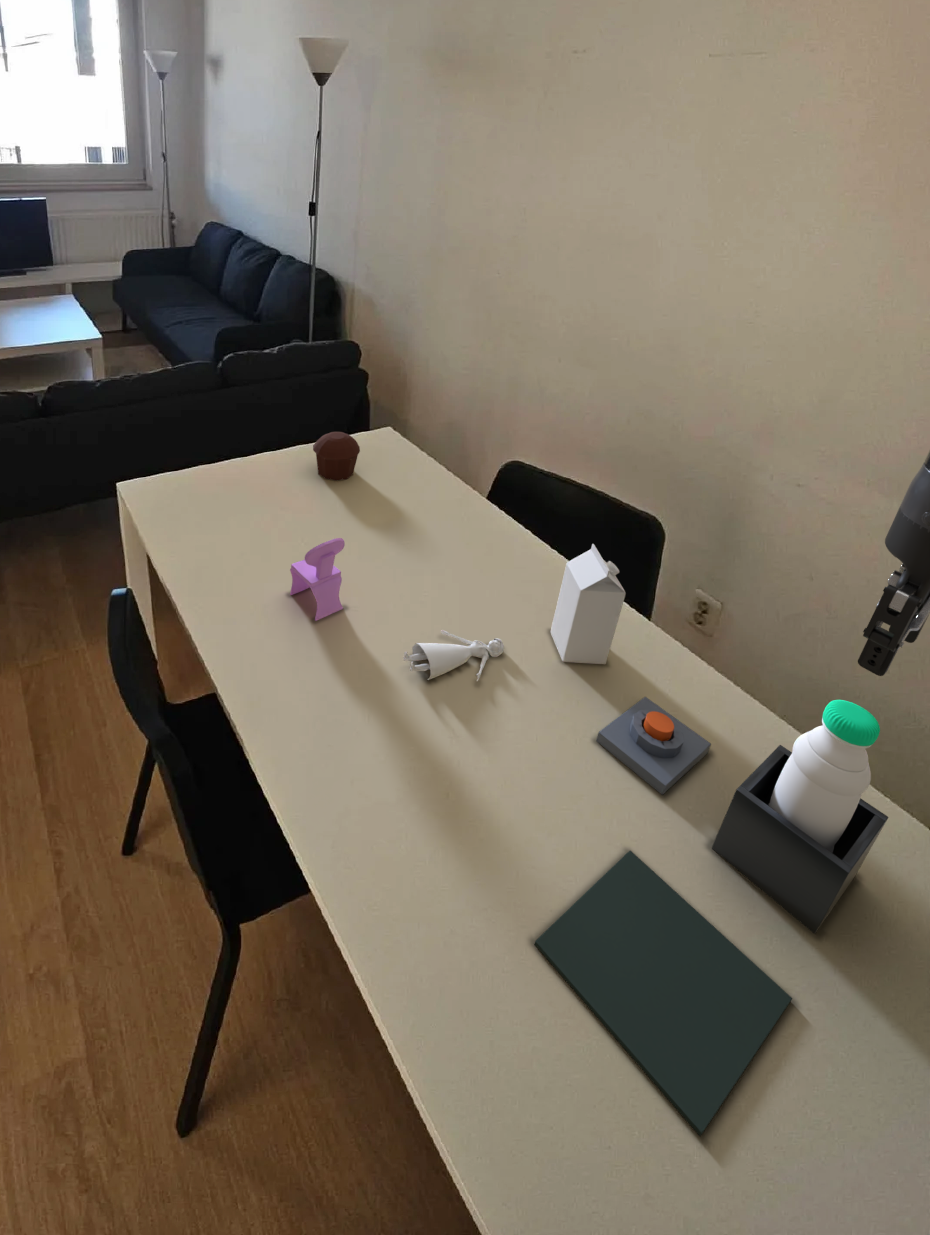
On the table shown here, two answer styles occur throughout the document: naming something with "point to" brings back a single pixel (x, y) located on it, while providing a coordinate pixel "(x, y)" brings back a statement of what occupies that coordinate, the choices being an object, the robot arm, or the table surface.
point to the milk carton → (587, 609)
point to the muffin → (336, 455)
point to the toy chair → (320, 576)
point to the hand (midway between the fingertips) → (886, 652)
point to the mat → (665, 986)
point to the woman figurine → (451, 654)
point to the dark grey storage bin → (792, 847)
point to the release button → (658, 726)
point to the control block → (653, 746)
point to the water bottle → (827, 773)
